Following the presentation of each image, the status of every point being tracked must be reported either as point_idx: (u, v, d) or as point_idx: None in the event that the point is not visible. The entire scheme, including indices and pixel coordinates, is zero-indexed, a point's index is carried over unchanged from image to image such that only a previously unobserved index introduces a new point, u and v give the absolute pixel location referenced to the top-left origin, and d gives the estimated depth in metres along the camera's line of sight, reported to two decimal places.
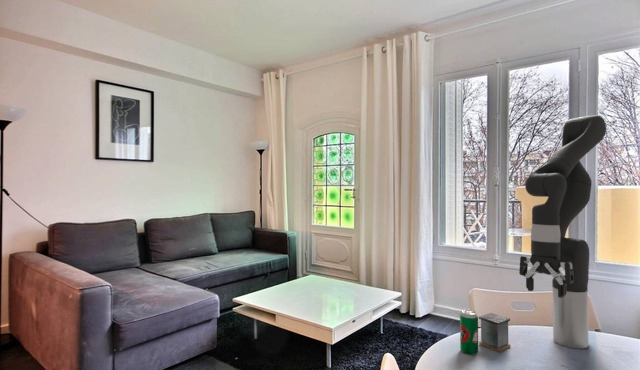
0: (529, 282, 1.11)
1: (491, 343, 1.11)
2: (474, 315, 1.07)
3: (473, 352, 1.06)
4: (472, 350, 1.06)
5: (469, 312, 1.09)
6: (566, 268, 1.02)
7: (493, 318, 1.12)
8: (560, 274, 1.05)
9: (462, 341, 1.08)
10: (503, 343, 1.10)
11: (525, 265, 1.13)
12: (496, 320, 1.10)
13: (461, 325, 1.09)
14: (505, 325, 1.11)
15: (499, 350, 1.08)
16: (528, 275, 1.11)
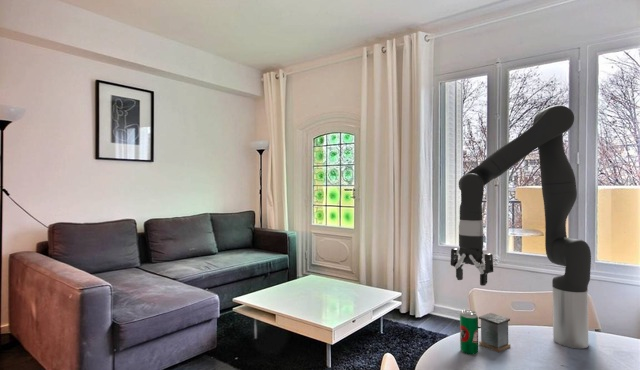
0: (458, 272, 1.22)
1: (491, 343, 1.11)
2: (474, 315, 1.07)
3: (473, 352, 1.06)
4: (472, 350, 1.06)
5: (469, 312, 1.09)
6: (486, 259, 1.14)
7: (493, 318, 1.12)
8: (482, 264, 1.16)
9: (462, 341, 1.08)
10: (503, 343, 1.10)
11: (455, 257, 1.24)
12: (496, 320, 1.10)
13: (461, 325, 1.09)
14: (505, 325, 1.11)
15: (499, 350, 1.08)
16: (457, 266, 1.22)
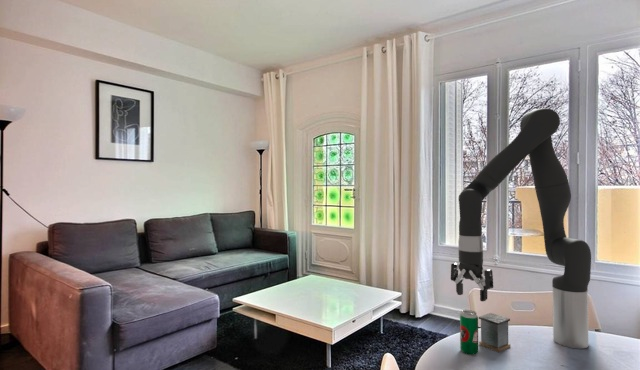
0: (458, 287, 1.22)
1: (491, 343, 1.11)
2: (474, 315, 1.07)
3: (473, 352, 1.06)
4: (472, 350, 1.06)
5: (469, 312, 1.09)
6: (485, 275, 1.14)
7: (493, 318, 1.12)
8: (482, 280, 1.16)
9: (462, 341, 1.08)
10: (503, 343, 1.10)
11: (455, 271, 1.24)
12: (496, 320, 1.10)
13: (461, 325, 1.09)
14: (505, 325, 1.11)
15: (499, 350, 1.08)
16: (457, 281, 1.22)
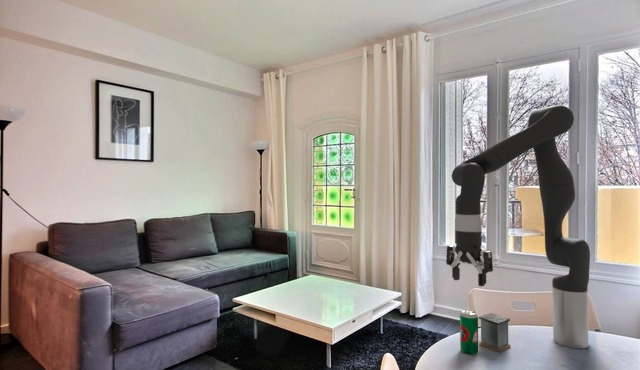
0: (454, 271, 1.12)
1: (491, 343, 1.11)
2: (474, 315, 1.07)
3: (473, 352, 1.06)
4: (472, 350, 1.06)
5: (469, 312, 1.09)
6: (484, 257, 1.03)
7: (493, 318, 1.12)
8: (481, 263, 1.06)
9: (462, 341, 1.08)
10: (503, 343, 1.10)
11: (451, 255, 1.14)
12: (496, 320, 1.10)
13: (461, 325, 1.09)
14: (505, 325, 1.11)
15: (499, 350, 1.08)
16: (453, 265, 1.12)
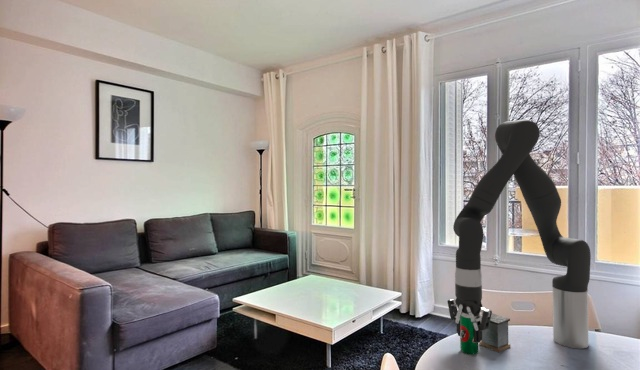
0: (459, 327, 1.11)
1: (491, 343, 1.11)
2: None
3: (473, 352, 1.06)
4: (472, 350, 1.06)
5: None
6: (484, 316, 1.03)
7: (493, 318, 1.12)
8: (479, 319, 1.07)
9: (462, 341, 1.08)
10: (503, 343, 1.10)
11: (454, 309, 1.13)
12: (496, 320, 1.10)
13: (461, 325, 1.09)
14: (505, 325, 1.11)
15: (499, 350, 1.08)
16: (458, 320, 1.11)
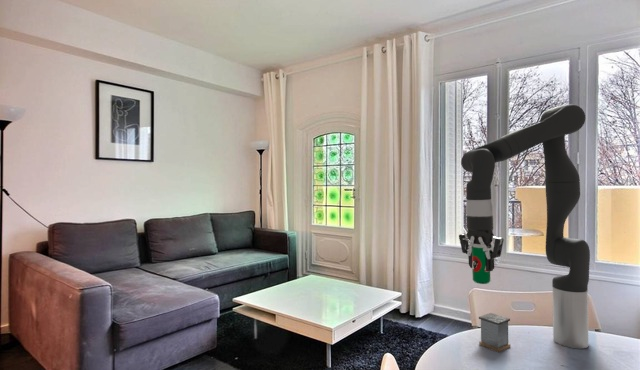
0: (471, 259, 1.13)
1: (491, 343, 1.11)
2: None
3: (485, 281, 1.08)
4: (484, 279, 1.08)
5: None
6: (495, 243, 1.05)
7: (493, 318, 1.12)
8: (490, 249, 1.09)
9: (474, 271, 1.10)
10: (503, 343, 1.10)
11: (465, 242, 1.15)
12: (496, 320, 1.10)
13: (473, 256, 1.10)
14: (505, 325, 1.11)
15: (499, 350, 1.08)
16: (470, 253, 1.13)
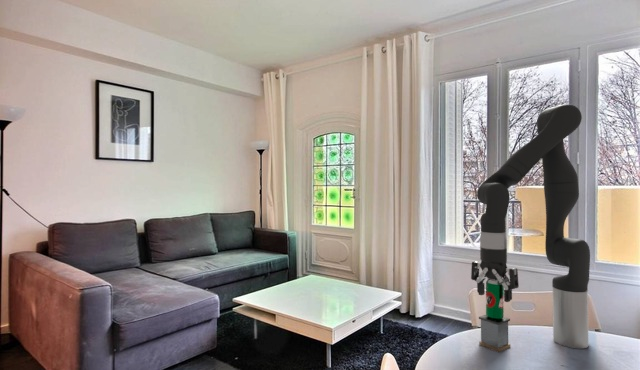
0: (479, 287, 1.16)
1: (491, 343, 1.11)
2: None
3: (499, 317, 1.10)
4: (498, 315, 1.10)
5: None
6: (510, 274, 1.07)
7: None
8: (506, 279, 1.10)
9: (488, 307, 1.12)
10: (503, 343, 1.10)
11: (476, 270, 1.18)
12: (496, 320, 1.10)
13: (487, 291, 1.12)
14: (505, 325, 1.11)
15: (499, 350, 1.08)
16: (478, 280, 1.16)
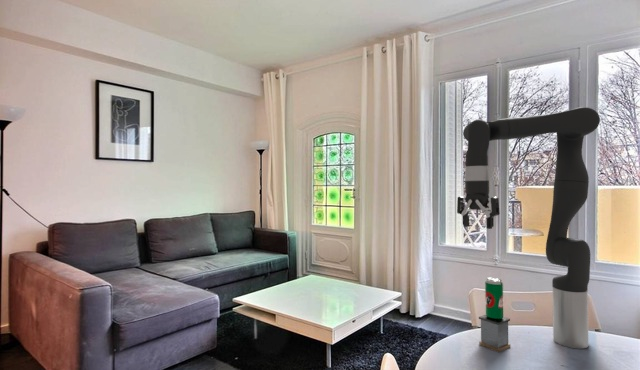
0: (464, 219, 1.25)
1: (491, 343, 1.11)
2: (499, 282, 1.11)
3: (499, 317, 1.10)
4: (498, 315, 1.10)
5: (494, 279, 1.13)
6: (492, 202, 1.16)
7: None
8: (488, 208, 1.19)
9: (488, 307, 1.12)
10: (503, 343, 1.10)
11: (462, 205, 1.27)
12: (496, 320, 1.10)
13: (487, 292, 1.12)
14: (505, 325, 1.11)
15: (499, 350, 1.08)
16: (463, 213, 1.25)
